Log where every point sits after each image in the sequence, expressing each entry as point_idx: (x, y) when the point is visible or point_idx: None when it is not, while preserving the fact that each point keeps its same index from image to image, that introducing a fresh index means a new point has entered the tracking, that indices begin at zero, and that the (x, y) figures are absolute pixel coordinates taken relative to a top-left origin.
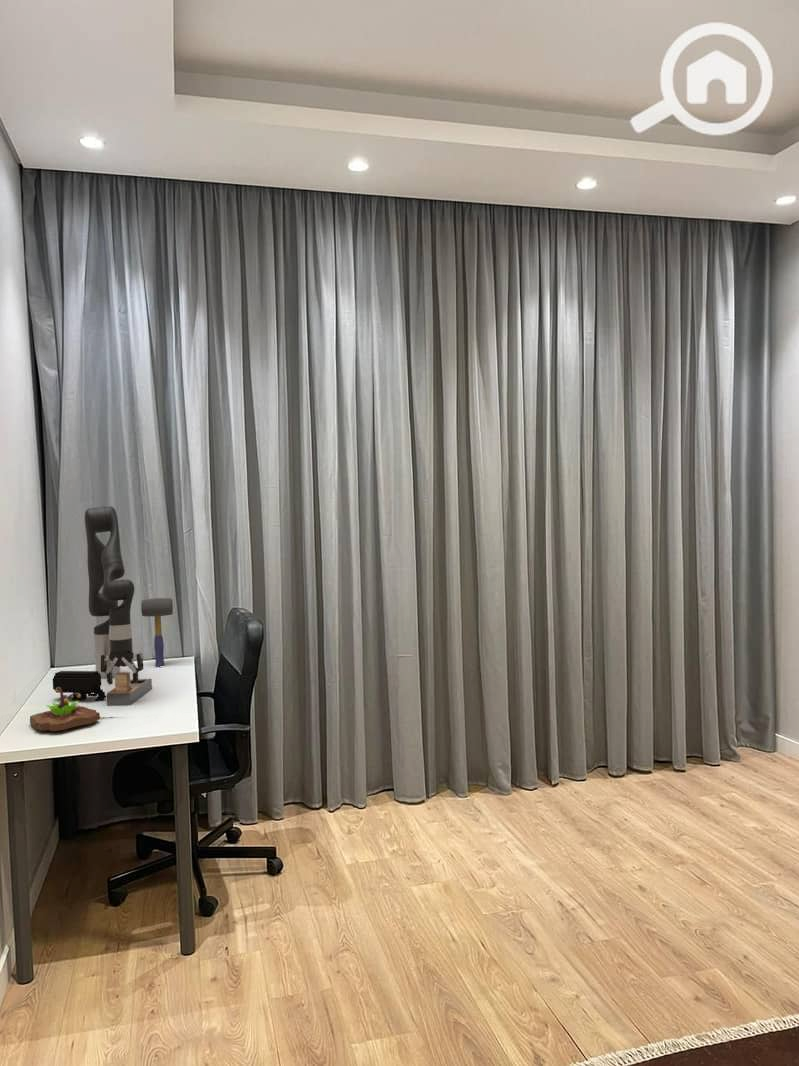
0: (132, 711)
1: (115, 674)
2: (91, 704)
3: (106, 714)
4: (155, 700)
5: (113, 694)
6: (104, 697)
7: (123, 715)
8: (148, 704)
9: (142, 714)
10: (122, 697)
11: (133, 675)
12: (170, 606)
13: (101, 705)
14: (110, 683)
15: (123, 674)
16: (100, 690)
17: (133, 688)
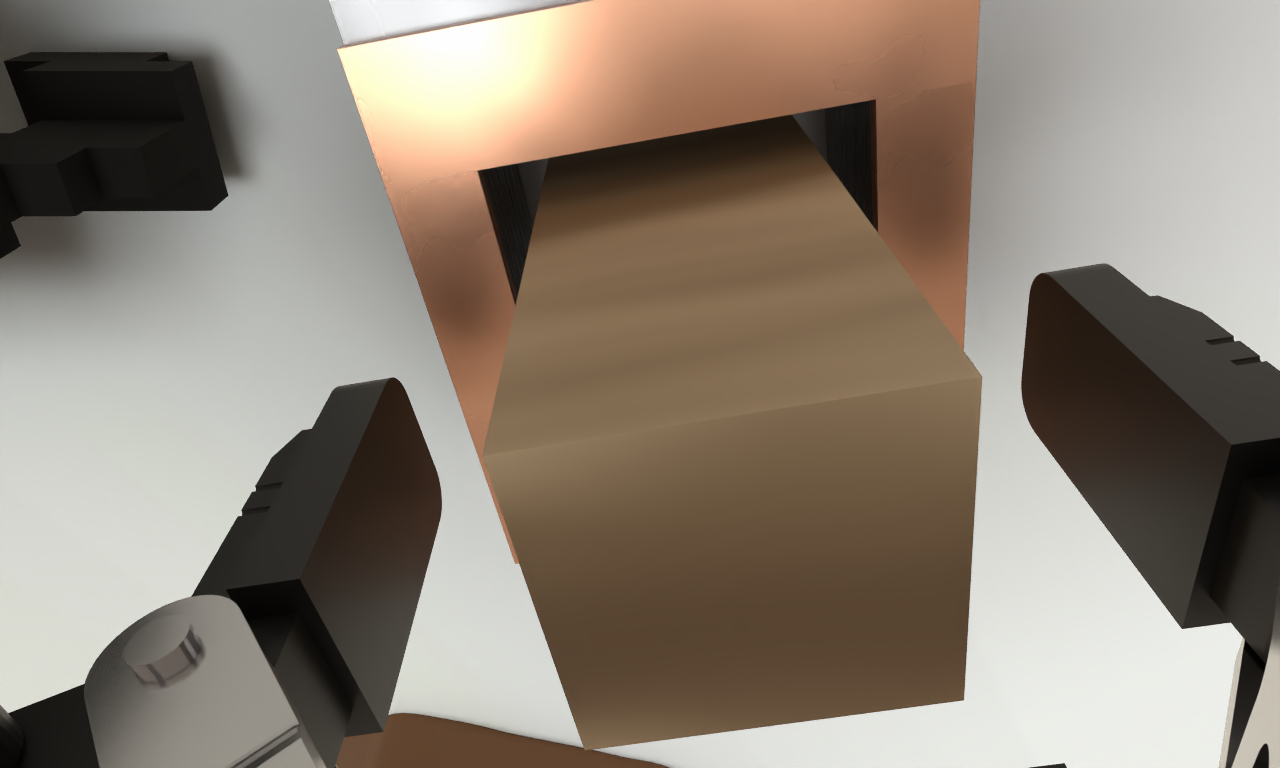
0: (1028, 638)
1: (587, 720)
2: (224, 391)
3: (769, 739)
4: (1265, 53)
5: None
6: (203, 139)
7: (975, 752)
8: None
9: (1176, 714)
10: None
11: (1167, 564)
12: None
13: (436, 432)
14: (438, 514)
15: (873, 709)
16: (53, 212)
17: (908, 180)
